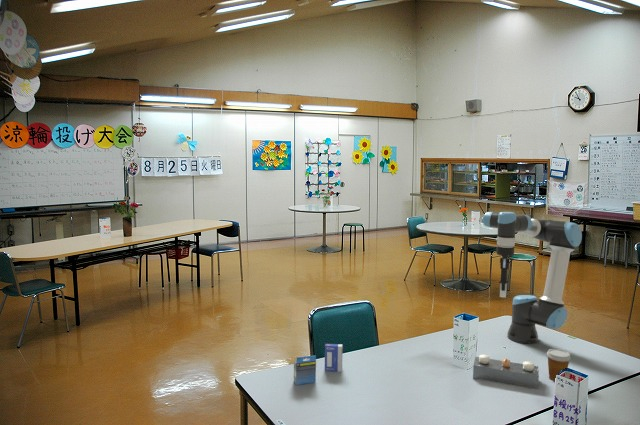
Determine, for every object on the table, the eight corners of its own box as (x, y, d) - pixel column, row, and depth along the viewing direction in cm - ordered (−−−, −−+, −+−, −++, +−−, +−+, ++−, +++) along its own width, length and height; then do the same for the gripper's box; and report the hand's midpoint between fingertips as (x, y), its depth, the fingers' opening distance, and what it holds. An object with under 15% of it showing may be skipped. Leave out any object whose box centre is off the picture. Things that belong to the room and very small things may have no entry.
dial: (502, 363, 217) (502, 357, 216) (510, 365, 215) (510, 359, 215) (501, 366, 214) (501, 360, 213) (509, 368, 212) (509, 362, 212)
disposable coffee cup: (544, 381, 214) (546, 354, 212) (545, 372, 222) (547, 346, 221) (568, 385, 209) (570, 358, 208) (569, 377, 218) (571, 350, 216)
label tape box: (313, 378, 214) (313, 351, 213) (316, 382, 210) (316, 355, 209) (293, 381, 211) (293, 354, 210) (296, 385, 207) (296, 357, 206)
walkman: (324, 370, 222) (324, 345, 220) (325, 368, 224) (325, 342, 223) (342, 371, 221) (342, 346, 220) (342, 369, 224) (342, 343, 222)
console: (474, 369, 225) (475, 356, 224) (537, 379, 215) (538, 366, 214) (472, 378, 215) (473, 365, 215) (537, 389, 206) (538, 375, 205)
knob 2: (522, 377, 214) (523, 360, 214) (533, 379, 213) (534, 362, 212) (522, 381, 210) (523, 364, 210) (533, 383, 209) (534, 366, 208)
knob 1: (478, 370, 221) (479, 353, 220) (489, 371, 220) (489, 355, 219) (477, 374, 217) (478, 357, 216) (488, 375, 216) (489, 359, 215)
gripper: (497, 243, 231) (494, 292, 234) (496, 247, 219) (493, 299, 222) (514, 244, 228) (511, 294, 231) (514, 249, 216) (511, 301, 219)
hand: (502, 296), depth 226 cm, fingers closed
